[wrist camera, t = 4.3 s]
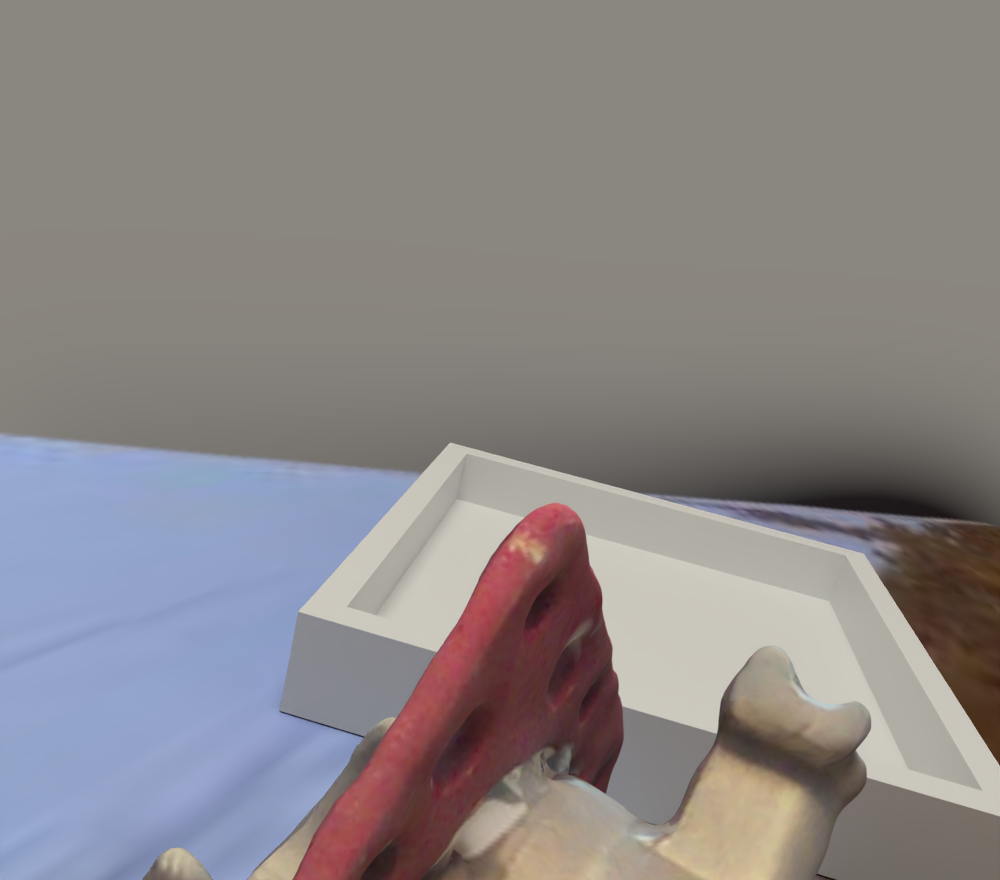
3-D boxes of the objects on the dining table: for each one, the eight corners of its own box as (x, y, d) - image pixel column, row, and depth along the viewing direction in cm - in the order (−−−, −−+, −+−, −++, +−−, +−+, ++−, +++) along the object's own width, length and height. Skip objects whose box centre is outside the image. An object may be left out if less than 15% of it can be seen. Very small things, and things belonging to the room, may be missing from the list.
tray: (841, 614, 41) (863, 553, 40) (993, 927, 23) (1039, 828, 22) (436, 502, 43) (450, 442, 42) (280, 710, 25) (298, 611, 24)
